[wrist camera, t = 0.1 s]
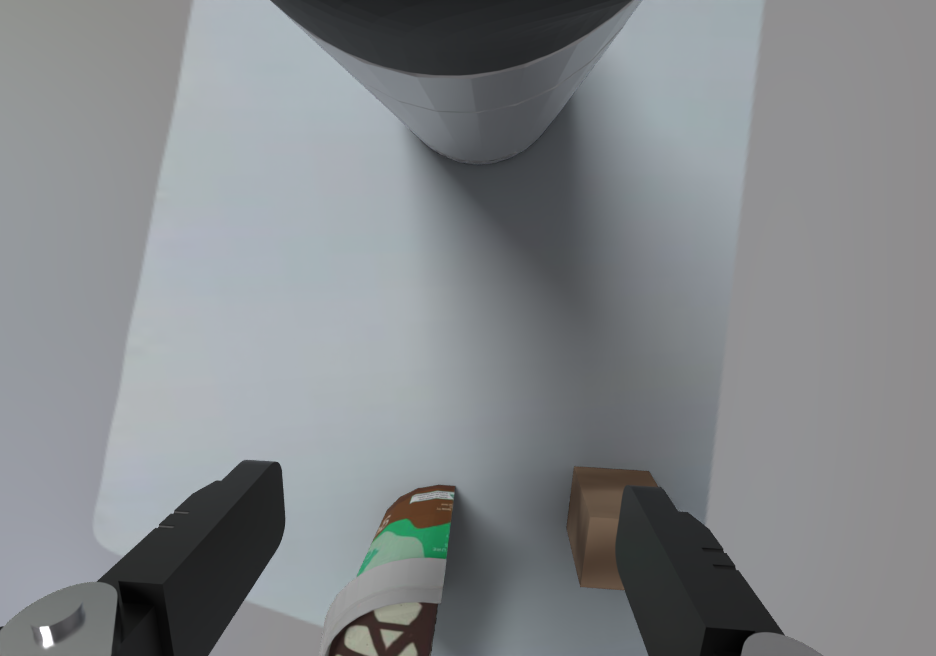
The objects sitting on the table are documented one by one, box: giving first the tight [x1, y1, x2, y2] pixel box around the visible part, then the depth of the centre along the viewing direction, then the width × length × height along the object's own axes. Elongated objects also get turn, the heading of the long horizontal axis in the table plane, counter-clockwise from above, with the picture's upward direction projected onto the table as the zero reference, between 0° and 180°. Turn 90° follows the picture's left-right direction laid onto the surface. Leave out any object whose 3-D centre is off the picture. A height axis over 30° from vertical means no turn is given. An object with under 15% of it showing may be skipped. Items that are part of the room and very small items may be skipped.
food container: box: [319, 485, 455, 656], centre depth 27 cm, size 12×6×10 cm, turn 172°
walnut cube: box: [566, 466, 658, 590], centre depth 27 cm, size 5×5×5 cm
